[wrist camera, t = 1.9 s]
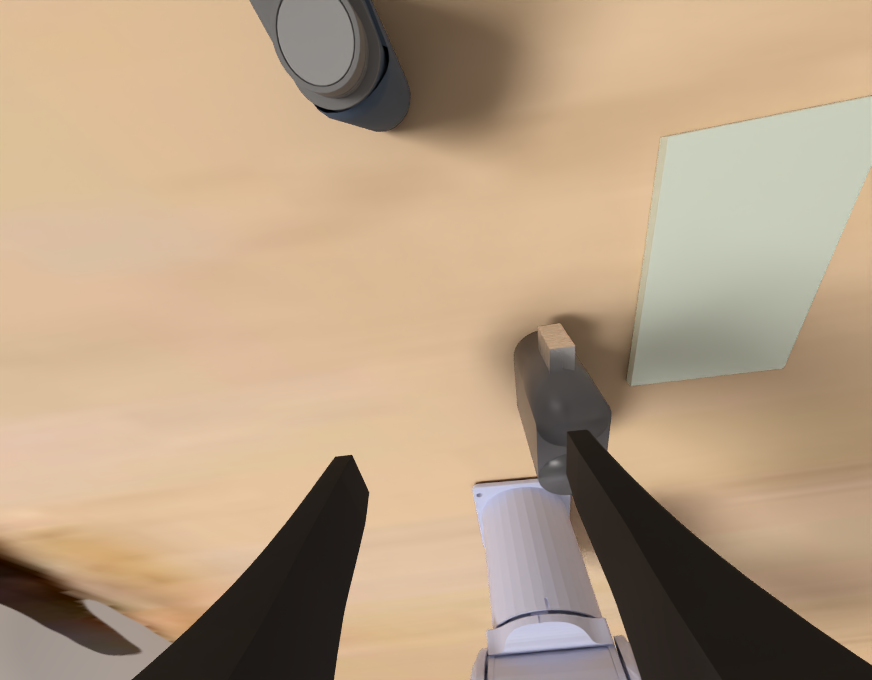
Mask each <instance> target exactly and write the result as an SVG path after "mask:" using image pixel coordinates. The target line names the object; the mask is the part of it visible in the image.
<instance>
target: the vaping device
mask: <svg viewBox="0 0 872 680" xmlns="http://www.w3.org/2000/svg"><path fill="white" fill-rule="evenodd" d="M250 2H251V4H252V6H253V8H254V9H255V11H256V13H257V15H258V17H259V18H260V20H261V22H262V24H263V26H264V27H265V29H266V31H267V33H268V35H269V36H270V38H271V40H272V42H273V45H274V48H275V51H276V53H277V56H278V58H279V60H280V62H281V64H282V65H283V67H284V68H285V70H286V72H287V73H288V74H289V75H290V76H291V77H292V79H293V80H294V81H295V83H296V85H297V87H298V88H299V90H300V91H301V93H302V94H303V95H304V96H305V97H306V98H307V99H308V100H310V101H311V102H312V103H313V104H314V105H315V106H316V107H317V109H318V110H319V111H320V112H322V113H323V114H325V115H326V116H328V117H329V118H331V119H335V120H338V121H342V122H345V123H348V124H352V125H355V126H359V127H362V128H366V129H369V130H372V131H376V132H381V131H387V130H390V129H392V128H394V127H395V126H397V125H398V124H399V123H400V122H401V121H402V120H403V118H404V117H405V115H406V114H407V111H408V108H409V105H410V89H409V86H408V82H407V80H406V78H405V75H404V73H403V71H402V69H401V66H400V64H399V62H398V59H397V57H396V55H395V53H394V50H393V48H392V46H391V43H390V41H389V39H388V37H387V34H386V32H385V30H384V27H383V25H382V23H381V21H380V18H379V16H378V14H377V11H376V9H375V7H374V5H373V2H372V0H250Z"/></svg>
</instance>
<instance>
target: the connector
mask: <svg viewBox="0 0 872 680" xmlns="http://www.w3.org/2000/svg"><path fill="white" fill-rule="evenodd" d="M514 366H515V380H516V394H517V406H518V410H519V413H520V417H521V420H522V424H523V427H524V431H525V435H526V438H527V442H528V445H529V449H530V452H531V456H532V459H533V463H534V467H535V470H536V474H537V477H538V481H539V483H540V485H541V486H542V487H543V488H544V489H545V490H546V491H548V492H550V493H553V494H557V495H572V491H571V488H570V485H569V481H568V478H567V475H566V459H567V432H568V431H577V430H588V431H590V432H591V433H592V435H593V436H594V437H595V438H596V439H597V440H598V441H599V443H600V444H601V445H602V446H603V447H604V448H605V449H606V450H607V448H608V440H609V431H610V423H611V410H610V407H609V405H608V404H607V402H606V401H605V399H604V398H603V396H602V394H601V393H600V391H599V390H598V388H597V387H596V385H595V384H594V382H593V380H592V379H591V377H590V376H589V374H588V373H587V371H586V370H585V368H584V366H583V365H582V363H581V362H580V360H579V359H578V357H577V356H576V354H575V345H574V343H573V342H572V340H571V339H570V337H569V336H568V334H567V333H566V331H565V330H564V328H563V327H562V325H561V324H560V323H558V324H551V325H544V326H538V331H536V332H533V333H531V334H529V335H527V336H526V337H524V338H523V339H522V340H521V341H520V342H519V343H518V345H517V347H516V349H515V352H514Z"/></svg>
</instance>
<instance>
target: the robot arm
mask: <svg viewBox="0 0 872 680" xmlns="http://www.w3.org/2000/svg"><path fill="white" fill-rule="evenodd" d="M566 475H567V478H568V481H569V485H570V488H571V491H572V495H573V498H574V501H575V504H576V507H577V510H578V512H579V514H580V517H581V519H582V522H583V524H584V526H585V529H586V531H587V534H588V536H589V538H590V541H591V543H592V545H593V548H594V550H595V552H596V555H597V557H598V560H599V562H600V564H601V567H602V569H603V571H604V574H605V576H606V578H607V581H608V583H609V586H610V588H611V591H612V593H613V596H614V599H615V601H616V604H617V607H618V610H619V613H620V616H621V619H622V622H623V625H624V628H625V631H626V634H627V637H628V640H629V642H627V640H626V638H625V637H624V636H622V635H619V636H614V641H615V645H616V648H617V651H616V648H615V645H614V642H613V639H612V636H611V633H610V630H609V627H608V624H607V621H606V619H605V618H602V615H601V612H600V609H599V606H598V603H597V600H596V597H595V594H594V591H593V588H592V585H591V582H590V579H589V576H588V573H587V570H586V567H585V564H584V561H583V558H582V555H581V552H580V549H579V546H578V543H577V540H576V537H575V534H574V531H573V528H572V525H571V522H570V500H571V495H557V494H553V493H550V492H548V491H546V490H545V489H544V488H543V487H542V486H541V485H540V483H539V481H538V479H527V480H516V481H505V482H493V483H482V484H475V485H474V486H473V495H474V500H475V505H476V511H477V516H478V521H479V526H480V531H481V536H482V541H483V546H484V548H485V552H486V562H487V572H488V583H489V593H490V603H491V614H492V624H493V629H491V630H487V631H486V634H487V646H488V648H484V649H481V650H480V651H479V653H478V655H477V659H476V661H475V663H474V665H473V667H472V672H471V679H470V680H872V665H871V664H869V663H868V662H866V661H865V660H863V659H862V658H860V657H859V656H857V655H856V654H854V653H853V652H851V651H850V650H848V649H847V648H845V647H844V646H842V645H841V644H840V643H838V642H837V641H835V640H834V639H832V638H831V637H829V636H828V635H826V634H825V633H824V632H822V631H821V630H819V629H818V628H816V627H815V626H813V625H812V624H810V623H809V622H808V621H806V620H805V619H804V618H802V617H801V616H799V615H798V614H797V613H795V612H794V611H793V610H791V609H790V608H788V607H787V606H786V605H784V604H783V603H782V602H780V601H779V600H777V599H776V598H775V597H773V596H772V595H771V594H769V593H768V592H766V591H765V590H764V589H762V588H761V587H760V586H758V585H757V584H756V583H754V582H753V581H751V580H750V579H749V578H747V577H746V576H745V575H744V574H742V573H741V572H740V571H739V570H737V569H736V568H735V567H733V566H732V565H731V564H730V563H728V562H727V561H726V560H724V559H723V558H722V557H721V556H719V555H718V554H717V553H716V552H715V551H713V550H712V549H711V548H710V547H708V546H707V545H706V544H705V543H704V542H702V541H701V540H700V539H699V538H698V537H696V536H695V535H694V534H693V533H692V532H691V531H689V530H688V529H687V528H686V527H685V526H684V525H682V524H681V523H680V522H679V521H678V520H677V519H676V518H675V517H673V516H672V515H671V514H670V513H669V512H668V511H667V510H666V509H665V508H664V507H662V506H661V505H660V504H659V503H658V502H657V501H656V500H655V499H654V498H653V497H652V496H651V495H650V494H649V493H648V492H647V491H646V490H645V489H644V488H643V487H642V486H640V485H639V484H638V483H637V482H636V481H635V480H634V479H633V478H632V477H631V476H630V475H629V474H628V473H627V472H626V471H625V470H624V469H623V467H622V466H621V465H620V464H619V463H618V462H617V461H616V460H615V459H614V458H613V457H612V456H611V455H610V454H609V453H608V451H607V450H606V449H605V448H604V447H603V446H602V445H601V444H600V443H599V441H598V440H597V439H596V438H595V437H594V436H593V435H592V433H591V432H590V431H588V430H577V431H568V432H567V459H566ZM368 498H369V491H368V489H367V487H366V484H365V482H364V480H363V478H362V476H361V473H360V471H359V469H358V467H357V465H356V462H355V460H354V458H353V456H352V455H347V456H338V457H335V458H334V459H333V461H332V462H331V463H330V465H329V466H328V467H327V469H326V470H325V471H324V473H323V474H322V476H321V477H320V478H319V480H318V481H317V482H316V484H315V485H314V486H313V488H312V489H311V491H310V492H309V493H308V495H307V496H306V497H305V499H304V500H303V501H302V503H301V504H300V505H299V507H298V508H297V509H296V511H295V512H294V513H293V514H292V516H291V517H290V518H289V520H288V521H287V522H286V524H285V525H284V526H283V527H282V528H281V530H280V531H279V532H278V533H277V535H276V536H275V537H274V538H273V539H272V541H271V542H270V543H269V544H268V546H267V547H266V548H265V549H264V550H263V552H262V553H261V554H260V555H259V556H258V557H257V559H256V560H255V561H254V562H253V563H252V564H251V565H250V566H249V568H248V569H247V570H246V571H245V572H244V573H243V574H242V575H241V576H240V577H239V578H238V580H237V581H236V582H235V583H234V584H233V585H232V586H231V587H230V588H229V589H228V590H227V591H226V592H225V593H224V594H223V595H222V596H221V597H220V598H219V599H218V600H217V601H216V602H215V603H214V604H213V605H212V606H211V607H210V608H209V609H208V610H207V611H206V612H205V613H204V614H203V615H202V616H201V617H200V618H199V619H198V620H197V621H196V622H195V623H194V624H193V625H192V626H191V627H190V628H189V629H188V630H187V631H186V632H184V633H183V634H182V635H181V636H180V637H179V638H178V639H177V640H176V641H175V642H174V643H173V644H172V645H170V646H169V647H168V648H167V649H166V650H165V651H164V652H163V653H162V654H161V655H159V656H158V657H157V658H156V659H155V660H154V661H153V662H151V663H150V664H149V665H148V666H147V667H146V668H145V669H144V670H142V671H141V672H140V673H139V674H138V675H137V676H135V677H134V678H133V679H132V680H334V675H335V668H336V661H337V654H338V647H339V641H340V635H341V628H342V622H343V616H344V611H345V606H346V602H347V597H348V593H349V589H350V585H351V581H352V577H353V573H354V569H355V564H356V560H357V556H358V552H359V548H360V544H361V540H362V535H363V531H364V527H365V521H366V514H367V506H368ZM617 652H618V653H617Z"/></svg>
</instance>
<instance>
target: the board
mask: <svg viewBox="0 0 872 680" xmlns="http://www.w3.org/2000/svg"><path fill="white" fill-rule="evenodd" d="M871 165H872V95H871V96H866V97H861V98H856V99H851V100H846V101H841V102H836V103H830V104H825V105H820V106H815V107H810V108H805V109H800V110H795V111H790V112H785V113H780V114H775V115H770V116H765V117H760V118H755V119H750V120H745V121H740V122H735V123H730V124H725V125H720V126H715V127H710V128H705V129H700V130H695V131H690V132H685V133H680V134H675V135H669V136H664V137H661V138H660V145H659V152H658V159H657V166H656V174H655V181H654V188H653V195H652V202H651V209H650V216H649V223H648V231H647V238H646V245H645V252H644V259H643V266H642V273H641V280H640V287H639V295H638V302H637V309H636V316H635V323H634V330H633V337H632V344H631V352H630V359H629V366H628V373H627V380H626V381H627V382H628V383H629V385H630V386H637V385H646V384H655V383H663V382H672V381H680V380H689V379H697V378H706V377H714V376H723V375H731V374H740V373H749V372H757V371H766V370H774V369H783V368H784V366H785V364H786V362H787V359H788V357H789V355H790V352H791V350H792V348H793V346H794V343H795V341H796V339H797V336H798V334H799V332H800V329H801V327H802V325H803V322H804V320H805V318H806V315H807V313H808V311H809V309H810V306H811V304H812V302H813V299H814V297H815V295H816V292H817V290H818V288H819V285H820V283H821V281H822V278H823V276H824V274H825V271H826V269H827V267H828V265H829V262H830V260H831V258H832V255H833V253H834V251H835V248H836V246H837V244H838V241H839V239H840V237H841V234H842V232H843V230H844V227H845V225H846V223H847V221H848V218H849V216H850V214H851V211H852V209H853V207H854V204H855V202H856V200H857V197H858V195H859V193H860V190H861V188H862V186H863V184H864V181H865V179H866V177H867V174H868V172H869V170H870V167H871Z"/></svg>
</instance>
